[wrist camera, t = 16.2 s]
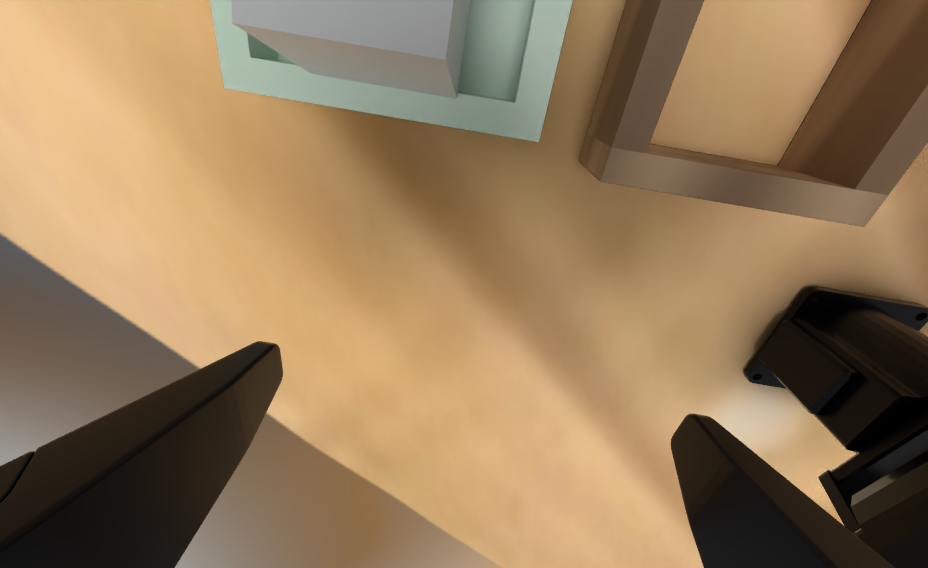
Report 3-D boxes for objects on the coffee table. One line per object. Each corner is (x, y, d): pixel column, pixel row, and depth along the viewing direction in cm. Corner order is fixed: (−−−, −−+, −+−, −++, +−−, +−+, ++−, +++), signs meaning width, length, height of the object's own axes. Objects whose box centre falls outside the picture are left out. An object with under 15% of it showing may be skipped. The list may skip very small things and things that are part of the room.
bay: (926, -31, 13) (1088, -73, 9) (788, 196, 17) (864, 227, 13) (650, -79, 13) (708, -140, 9) (578, 160, 17) (600, 181, 13)
